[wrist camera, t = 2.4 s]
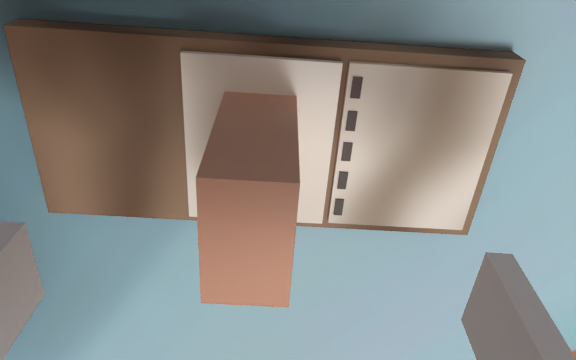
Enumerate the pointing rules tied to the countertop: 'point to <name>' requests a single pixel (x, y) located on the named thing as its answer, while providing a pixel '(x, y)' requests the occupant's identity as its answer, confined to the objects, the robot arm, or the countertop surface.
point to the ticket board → (170, 42)
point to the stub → (255, 166)
